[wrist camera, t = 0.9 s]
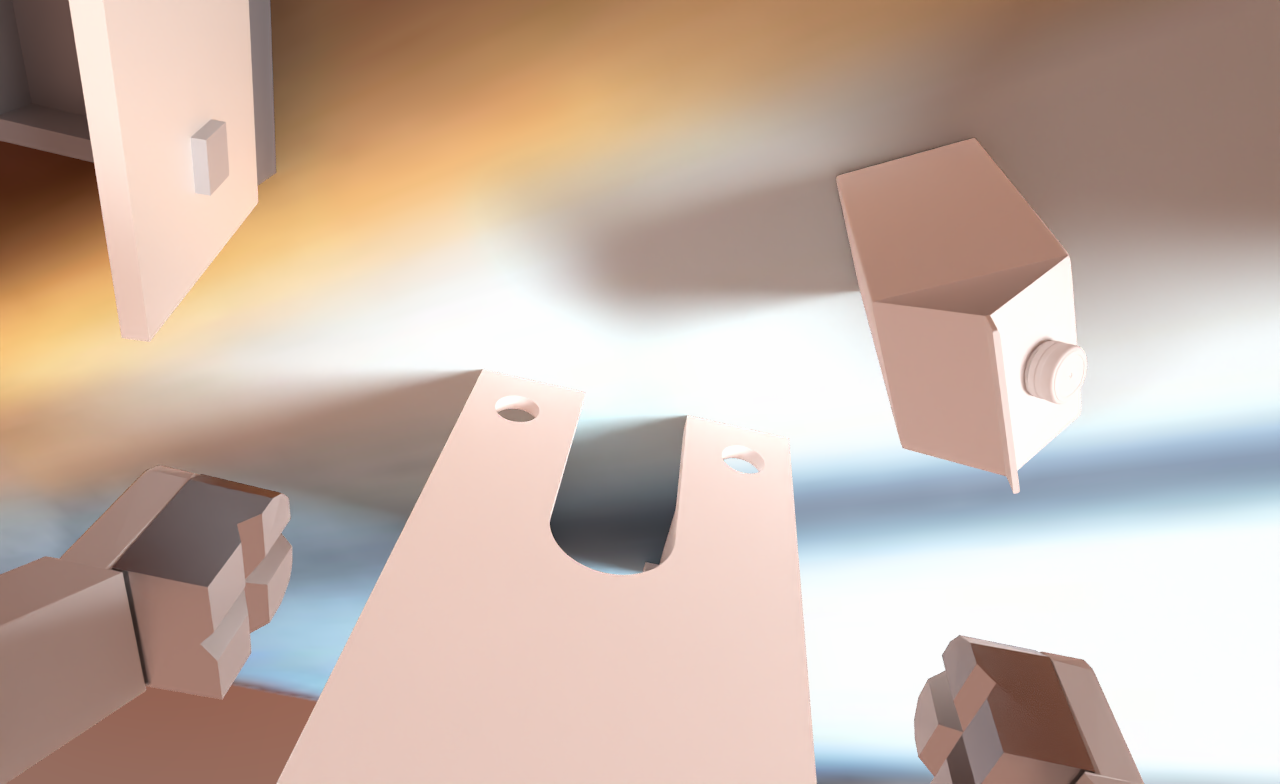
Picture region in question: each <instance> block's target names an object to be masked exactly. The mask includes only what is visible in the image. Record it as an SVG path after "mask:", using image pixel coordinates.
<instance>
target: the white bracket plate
mask: <svg viewBox="0 0 1280 784" xmlns="http://www.w3.org/2000/svg"><path fill="white" fill-rule="evenodd" d="M584 397H585V392H582V391H578V390H574V389H569V388H565V387H560V386H556V385H551V384H547V383H542V382H538V381H534V380H529V379H525V378H520V377H516V376H511V375H507V374H502V373H498V372H494V371H489V370H485V369H483V370H482V372H481V374H480V376H479V378H478V380H477V382H476V384H475V386H474V388H473V390H472V392H471V394H470V396H469V398H468V400H467V402H466V404H465V406H464V408H463V410H462V412H461V414H460V416H459V418H458V420H457V422H456V424H455V426H454V428H453V430H452V432H451V434H450V436H449V438H448V440H447V442H446V444H445V446H444V448H443V450H442V452H441V454H440V456H439V458H438V460H437V462H436V464H435V466H434V468H433V470H432V472H431V474H430V476H429V478H428V480H427V482H426V484H425V486H424V488H423V490H422V492H421V494H420V496H419V498H418V500H417V502H416V504H415V506H414V508H413V510H412V512H411V514H410V516H409V518H408V520H407V522H406V524H405V526H404V528H403V530H402V532H401V534H400V536H399V538H398V540H397V542H396V544H395V546H394V549H393V551H392V553H391V555H390V557H389V559H388V561H387V563H386V565H385V567H384V569H383V571H382V573H381V575H380V577H379V579H378V581H377V583H376V585H375V587H374V589H373V591H372V593H371V595H370V597H369V599H368V601H367V603H366V605H365V607H364V609H363V611H362V613H361V615H360V617H359V619H358V621H357V623H356V625H355V627H354V629H353V631H352V633H351V635H350V637H349V639H348V641H347V643H346V645H345V647H344V649H343V651H342V653H341V655H340V657H339V659H338V661H337V663H336V665H335V667H334V669H333V671H332V673H331V675H330V677H329V679H328V681H327V683H326V685H325V687H324V689H323V691H322V693H321V695H320V697H319V699H318V701H317V703H316V706H315V707H314V709H313V711H312V713H311V715H310V717H309V719H308V722H307V723H306V725H305V727H304V729H303V731H302V733H301V735H300V738H299V739H298V742H297V744H296V745H295V748H294V749H293V752H292V753H291V755H290V757H289V760H288V762H287V763H286V765H285V767H284V770H283V772H282V774H281V776H280V778H279V780H278V782H277V784H817V782H816V770H815V757H814V745H813V732H812V720H811V707H810V695H809V682H808V670H807V657H806V645H805V633H804V620H803V608H802V595H801V583H800V570H799V558H798V545H797V533H796V520H795V508H794V495H793V483H792V470H791V458H790V445H789V438H787V437H782V436H778V435H773V434H769V433H765V432H760V431H756V430H751V429H747V428H742V427H738V426H733V425H729V424H725V423H720V422H716V421H711V420H707V419H702V418H698V417H693V416H689V415H687V419H686V422H685V426H684V432H683V442H682V452H681V462H680V472H679V482H678V492H677V502H676V510H675V513H674V516H673V520H672V523H671V526H670V530H669V533H668V536H667V540H666V543H665V546H664V550H663V553H662V557H661V560H660V563H659V565H658V564H653V563H649V562H645V566H644V569H643V573H639V574H632V575H615V574H608V573H603V572H599V571H596V570H593V569H591V568H588V567H586V566H584V565H582V564H580V563H578V562H577V561H575V560H573V559H572V558H571V557H569V556H568V555H567V554H566V553H565V552H564V551H563V550H562V549H561V548H560V547H559V545H558V544H557V543H556V541H555V539H554V537H553V535H552V533H551V529H550V518H551V515H552V511H553V508H554V504H555V501H556V497H557V494H558V490H559V487H560V483H561V480H562V476H563V473H564V469H565V466H566V462H567V459H568V455H569V452H570V448H571V445H572V441H573V438H574V434H575V431H576V427H577V424H578V420H579V417H580V413H581V410H582V406H583V402H584ZM505 409H520V410H523V411H526V412H528V413H530V414H531V415H533V416H534V417H535V419H533V420H530V421H526V422H515V421H510V420H507V419H505V418H503V417H501V416H500V415H499V414H498V412H500V411H502V410H505ZM727 458H738V459H742V460H745V461H747V462H749V463H751V464H752V465H754V466H755V467H756V468H757V470H758V471H759V472H758V473H754V474H748V473H742V472H739V471H736V470H734V469H732V468H731V467H730V466H728V465H727V464H726V463H725V461H724V459H727Z"/></svg>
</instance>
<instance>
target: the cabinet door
mask: <svg viewBox="0 0 1280 784" xmlns="http://www.w3.org/2000/svg"><path fill="white" fill-rule="evenodd" d="M69 6H70V12H71V19H72V25H73V31H74V38H75V44H76V50H77V57H78V63H79V69H80V76H81V82H82V88H83V95H84V101H85V108H86V114H87V120H88V127H89V133H90V139H91V146H92V152H93V158H94V165H95V171H96V177H97V184H98V190H99V197H100V203H101V209H102V216H103V222H104V228H105V235H106V241H107V247H108V254H109V260H110V266H111V273H112V279H113V286H114V292H115V298H116V305H117V311H118V317H119V324H120V330H121V336H122V338H125V339H133V340H140V341H148V342H150V341H151V339H152V338H153V337H154V335H155V334H156V333H157V332H158V330H159V329H160V328H161V327H162V325H163V324H164V323H165V321H166V320H167V319H168V318H169V316H170V315H171V314H172V312H173V311H174V310H175V309H176V307H177V306H178V305H179V303H180V302H181V301H182V300H183V298H184V297H185V296H186V294H187V293H188V292H189V291H190V289H191V288H192V287H193V285H194V284H195V283H196V282H197V280H198V279H199V278H200V276H201V275H202V274H203V273H204V271H205V270H206V269H207V268H208V266H209V265H210V264H211V262H212V261H213V260H214V259H215V257H216V256H217V255H218V253H219V252H220V251H221V250H222V248H223V247H224V246H225V244H226V243H227V242H228V241H229V239H230V238H231V237H232V235H233V234H234V233H235V232H236V230H237V229H238V228H239V226H240V225H241V224H242V223H243V221H244V220H245V219H246V218H247V216H248V215H249V214H250V212H251V211H252V210H253V209H254V207H255V206H256V205H257V203H258V187H257V166H256V145H255V124H254V103H253V82H252V61H251V39H250V18H249V0H69Z"/></svg>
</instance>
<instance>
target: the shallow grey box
mask: <svg viewBox="0 0 1280 784" xmlns="http://www.w3.org/2000/svg"><path fill="white" fill-rule="evenodd" d="M249 18H250V39H251V61H252V82H253V103H254V124H255V145H256V166H257V186H258V185H259V184H261V183H262V182H264V181H265V180H266V179H268V178H269V177H271V176H272V175H274V174H275V173H276V156H275V127H274V98H273V69H272V40H271V10H270V0H249ZM0 141H4V142H8V143H12V144H17V145H21V146H25V147H29V148H34V149H38V150H42V151H46V152H51V153H55V154H59V155H63V156H68V157H72V158H76V159H80V160H85V161H89V162H93V163H94V158H93V152H92V146H91V139H90V133H89V127H88V120H87V114H86V108H85V101H84V95H83V88H82V82H81V76H80V69H79V63H78V57H77V50H76V44H75V38H74V31H73V25H72V19H71V12H70V6H69V0H0Z"/></svg>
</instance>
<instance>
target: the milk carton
mask: <svg viewBox="0 0 1280 784" xmlns="http://www.w3.org/2000/svg"><path fill="white" fill-rule="evenodd" d="M836 182H837V187H838V192H839V197H840V201H841V206H842V211H843V215H844V220H845V225H846V229H847V234H848V239H849V243H850V248H851V253H852V257H853V262H854V267H855V271H856V276H857V280H858V285H859V289H860V293H861V296H862V300H863V304H864V308H865V311H866V315H867V319H868V323H869V326H870V330H871V334H872V338H873V341H874V345H875V349H876V353H877V356H878V360H879V364H880V367H881V371H882V375H883V379H884V382H885V386H886V390H887V394H888V397H889V401H890V405H891V409H892V412H893V416H894V420H895V424H896V427H897V431H898V435H899V438H900V442H901V445H902V447H903V448H905V449H908V450H912V451H915V452H919V453H923V454H926V455H930V456H934V457H937V458H941V459H945V460H949V461H952V462H956V463H960V464H963V465H967V466H971V467H974V468H978V469H982V470H985V471H989V472H993V473H996V474H1000V475H1004V476H1007V479H1008V481H1009V483H1010V486H1011V488H1012V490H1013V493H1014V494H1015V493H1019V492H1020V489H1019V481H1018V473H1017V470H1018V469H1020V468H1021V467H1022V466H1023V465H1024V464H1025V463H1026V462H1028V461H1029V460H1030V459H1031V458H1032V457H1033V456H1034V455H1035V454H1037V453H1038V452H1039V451H1040V450H1041V449H1042V448H1043V447H1045V446H1046V445H1047V444H1048V443H1049V442H1050V441H1051V440H1053V439H1054V438H1055V437H1056V436H1057V435H1058V434H1059V433H1060V432H1062V431H1063V430H1064V429H1065V428H1066V427H1067V426H1068V425H1070V424H1071V423H1072V422H1073V421H1074V420H1075V419H1076V418H1077V417H1078V416H1079V415H1080V413H1081V390H1080V388H1081V386H1082V384H1083V382H1084V379H1085V376H1086V372H1087V358H1086V354H1085V352H1084V350H1083V349H1082V348H1081V347H1080V346H1077V335H1076V321H1075V307H1074V294H1073V281H1072V270H1071V261H1070V257H1069V255H1068V253H1067V251H1066V250H1065V249H1064V247H1063V246H1062V245H1061V243H1060V242H1059V241H1058V240H1057V238H1056V237H1055V236H1054V235H1053V233H1052V232H1051V231H1050V230H1049V229H1048V227H1047V226H1046V225H1045V224H1044V222H1043V221H1042V220H1041V219H1040V217H1039V216H1038V215H1037V214H1036V212H1035V211H1034V210H1033V209H1032V207H1031V206H1030V205H1029V204H1028V203H1027V201H1026V200H1025V199H1024V198H1023V196H1022V195H1021V194H1020V193H1019V191H1018V190H1017V189H1016V188H1015V186H1014V185H1013V184H1012V183H1011V181H1010V180H1009V179H1008V178H1007V177H1006V175H1005V174H1004V173H1003V172H1002V170H1001V169H1000V168H999V167H998V165H997V164H996V163H995V162H994V160H993V159H992V158H991V157H990V156H989V154H988V153H987V152H986V151H985V149H984V148H983V147H982V146H981V144H980V143H979V142H978V141H977V139H975V138H971V139H967V140H964V141H960V142H957V143H953V144H949V145H946V146H942V147H939V148H935V149H931V150H928V151H924V152H921V153H917V154H913V155H910V156H906V157H903V158H899V159H895V160H892V161H888V162H885V163H881V164H878V165H874V166H870V167H867V168H863V169H860V170H856V171H852V172H849V173H845V174H842V175H838V176H837V177H836Z"/></svg>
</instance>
